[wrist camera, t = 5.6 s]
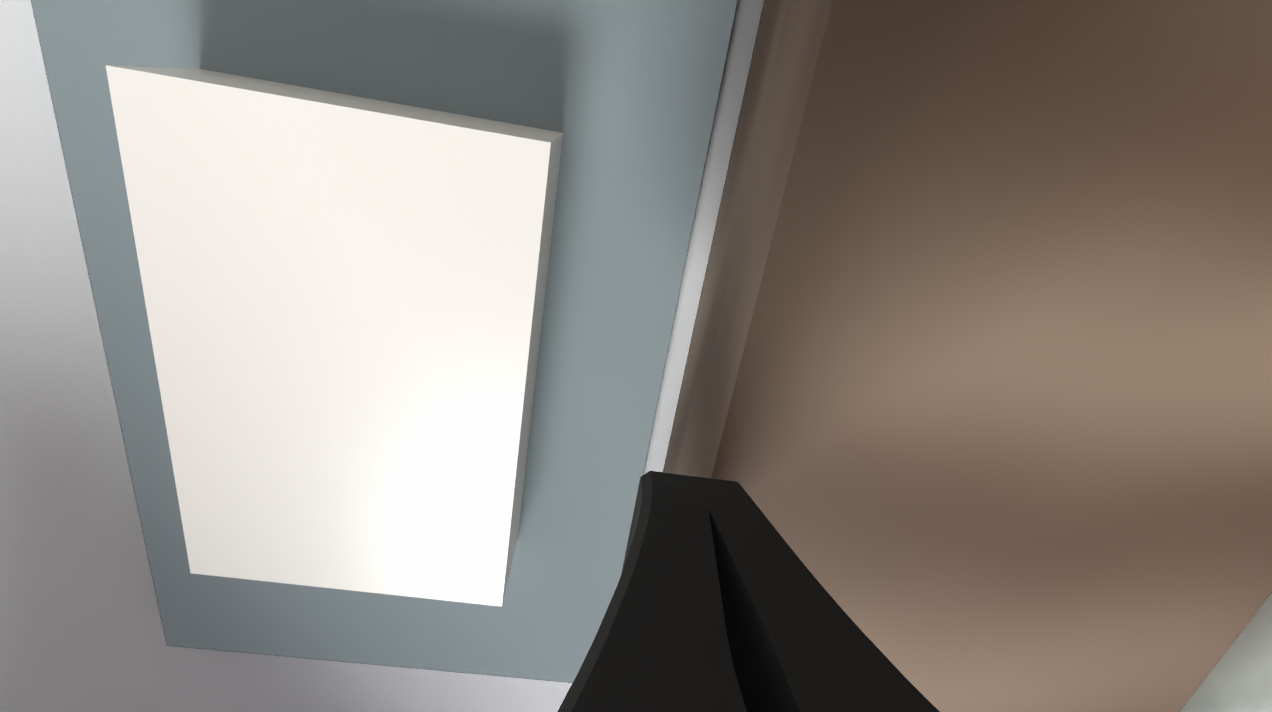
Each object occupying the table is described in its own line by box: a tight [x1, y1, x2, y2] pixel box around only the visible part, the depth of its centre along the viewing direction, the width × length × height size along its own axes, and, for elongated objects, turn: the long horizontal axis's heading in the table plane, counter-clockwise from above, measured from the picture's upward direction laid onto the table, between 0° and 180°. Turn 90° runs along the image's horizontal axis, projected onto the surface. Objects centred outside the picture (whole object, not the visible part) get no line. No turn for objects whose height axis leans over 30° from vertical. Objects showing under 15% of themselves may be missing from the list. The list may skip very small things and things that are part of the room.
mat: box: [31, 0, 737, 683], centre depth 12 cm, size 18×11×1 cm, turn 171°
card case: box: [106, 65, 563, 607], centre depth 11 cm, size 9×6×2 cm, turn 170°
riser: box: [663, 0, 1272, 712], centre depth 12 cm, size 16×10×4 cm, turn 171°
